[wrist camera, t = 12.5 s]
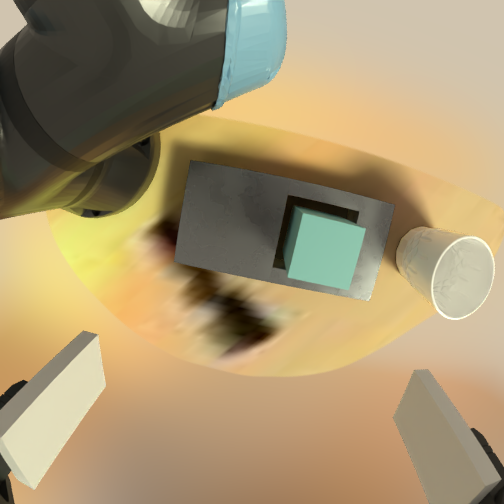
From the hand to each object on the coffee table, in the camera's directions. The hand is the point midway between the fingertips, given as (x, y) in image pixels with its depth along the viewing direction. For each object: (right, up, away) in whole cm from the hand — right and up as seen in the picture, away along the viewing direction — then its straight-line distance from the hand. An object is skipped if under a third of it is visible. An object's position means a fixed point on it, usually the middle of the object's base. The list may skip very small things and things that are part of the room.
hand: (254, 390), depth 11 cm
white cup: (+20, +5, +21) cm, 29 cm away
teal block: (+6, +7, +21) cm, 23 cm away
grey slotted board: (+3, +8, +21) cm, 23 cm away
